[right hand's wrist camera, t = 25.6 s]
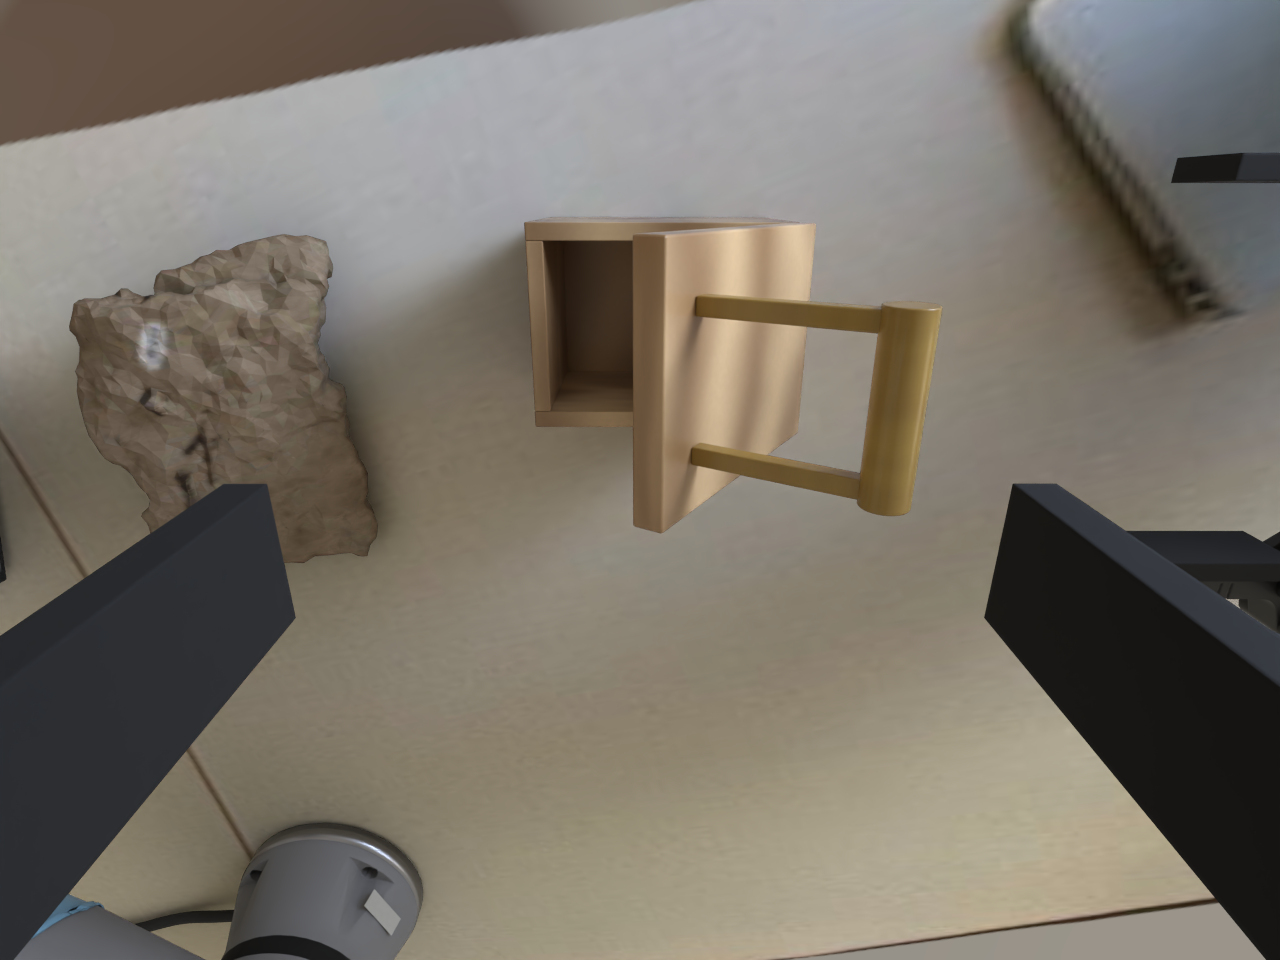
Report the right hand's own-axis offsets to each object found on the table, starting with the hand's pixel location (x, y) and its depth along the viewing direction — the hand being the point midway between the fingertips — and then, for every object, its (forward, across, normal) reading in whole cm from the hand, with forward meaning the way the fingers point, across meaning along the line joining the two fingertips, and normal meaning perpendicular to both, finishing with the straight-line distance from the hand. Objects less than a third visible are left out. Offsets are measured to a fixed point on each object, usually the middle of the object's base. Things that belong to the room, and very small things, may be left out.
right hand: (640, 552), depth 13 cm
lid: (+17, -3, 0) cm, 18 cm away
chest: (+33, -1, 0) cm, 33 cm away
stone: (+33, +25, +7) cm, 42 cm away
